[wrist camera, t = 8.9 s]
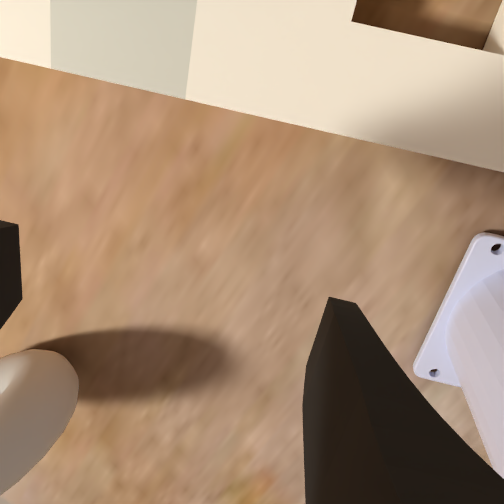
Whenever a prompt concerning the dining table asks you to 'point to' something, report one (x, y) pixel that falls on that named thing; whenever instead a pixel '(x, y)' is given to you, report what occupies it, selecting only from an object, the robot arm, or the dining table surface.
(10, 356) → the donut
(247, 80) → the peg board
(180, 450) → the dining table surface
